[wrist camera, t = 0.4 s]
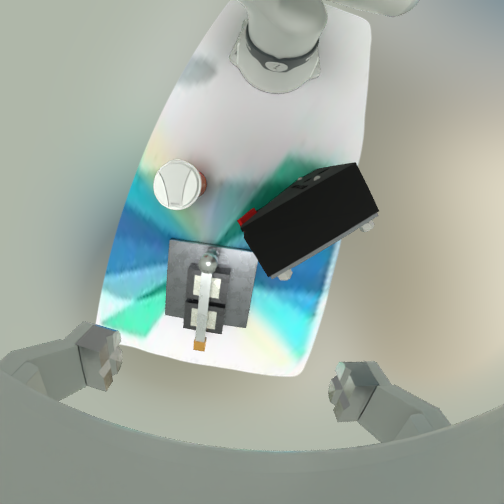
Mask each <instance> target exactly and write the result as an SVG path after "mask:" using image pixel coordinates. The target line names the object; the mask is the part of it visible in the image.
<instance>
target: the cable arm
mask: <svg viewBox="0 0 504 504" xmlns="http://www.w3.org/2000/svg"><path fill="white" fill-rule="evenodd" d="M217 265H218V259H217V257H216V256H215V255H214V254H213V253H205V254H204V255H202V257H201V259H200V260H199V263H198V266H199V269H200V270H201V271H202V273H201V283H200V292H199V303H198V313H197V325H196V337H195V340H194V349H193V350H199V351H205V347H206V327H207V318H208V309H209V300H210V291H211V283H212V274H213V272H214V271H215V270H216V267H217Z"/></svg>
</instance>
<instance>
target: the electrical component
mask: <svg viewBox="0 0 504 504" xmlns="http://www.w3.org/2000/svg"><path fill="white" fill-rule="evenodd" d="M378 211H379V210H378V208H377V206H376V204H375V201H374V199H373V197H372V195H371V193H370V190H369V188H368V186H367V184H366V183H365V180H364V178H363V176H362V174H361V172H360V170H359V168H358V166H357V164H356V162H355V163H349V164H342V165H336V166H330V167H324V168H319V169H316V170H314V171H313V172H311V173H309V174H307V175H306V176H304V177H299V178H298V180H297V181H296V182H294V183H293V184H292V185H290V186H289V187H288V188H287V189H285V190H284V191H283V192H282V193H280V194H279V195H278V196H277V197H275V198H274V199H273V200H272V201H271V202H269V203H268V204H267V205H266V206H264V207H263V208H261V209H259V210H258V211H256V210H255V209H254V208H253V209H251V210H250V211H249V212H247V213H246V214H245V215H244V216H242V217H241V218H240V219H239V220H237V221H238V223H239V224H240V226H241V230H242V232H243V231H244V239H245V240H246V242H247V244H248V245H249V247H250V248H251V250H252V252H253V253H254V255H255V257H256V258H257V260H258V261H259V263H260V265H261V266H262V268H263V269H264V271H265V273H266V274H267V276H268V277H269V276H270V277H271V278H272V279H273V278H275V277H277V276H278V278H279V279H280V280H288V279H289V278H290V277H291V274H292V271H291V268H292V267H295V266H296V265H298V264H300V263H302V262H303V261H305V260H307V259H308V258H310V257H312V256H314V255H315V254H317V253H319V252H320V251H322V250H324V249H325V248H327V247H329V246H330V245H332V244H334V243H335V242H337V241H339V240H340V239H342V238H344V237H345V236H347V235H348V234H350V233H352V232H353V231H355V230H356V229H358V228H360V230H361V231H363V232H366V231H369V230H371V229H372V228H373V227H374V222H373V220H372V219H374V218H375V217H377V216H378V213H377V212H378Z"/></svg>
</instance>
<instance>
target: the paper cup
mask: <svg viewBox="0 0 504 504" xmlns="http://www.w3.org/2000/svg"><path fill="white" fill-rule="evenodd" d="M206 185H207V183H206V179H205V177H204V175H203V174H202V173H201V172H199V171H198V170H197V169H196V168H195V167H194V166H193V165H192V164H190V163H188V162H186V161H183V160H181V159H176V160H171V161H169V162H167V163H166V164H165V165H163V166H162V167H161V168H160V169H159V171H158V172H157V174H156V176H155V179H154V193H155V196H156V198H157V199H158V201H159V202H160V203H161V204H162V205H163V206H165V207H167V208H169V209H173V210H181V209H185V208H187V207H189V206H190V205H192V204H193V203H194V202H195V201H196V200H197V198H198V197H200V196H201V195H202V194H203V193H204V191H205V189H206Z"/></svg>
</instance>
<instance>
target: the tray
mask: <svg viewBox="0 0 504 504" xmlns="http://www.w3.org/2000/svg"><path fill="white" fill-rule="evenodd" d="M205 253H213V254H214V255H215V256H216V257H217V259H218V265H217V267H216V270H215V271H214V272H213V274H212V283H211V291H210V300H209V309H208V318H207V327H206V332H211V333H217V334H222V328H223V325H228V326H235V327H242V328H246V324H247V319H248V313H249V308H250V302H251V296H252V291H253V285H254V279H255V273H256V268H257V262H258V260H257V258H256V257H255V255H254V253H253V252H252V250H246V249H239V248H233V247H226V246H220V245H213V244H207V243H200V242H193V241H187V240H180V239H174V238H171V239H170V244H169V256H168V269H167V286H166V308H165V315H169V316H174V317H180V318H184V325H183V328H187V329H193V330H196V325H197V313H198V303H199V292H200V283H201V273H202V271H201V270H200V269H199V266H198V263H199V260H200V259H201V257H202V255H204V254H205Z"/></svg>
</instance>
